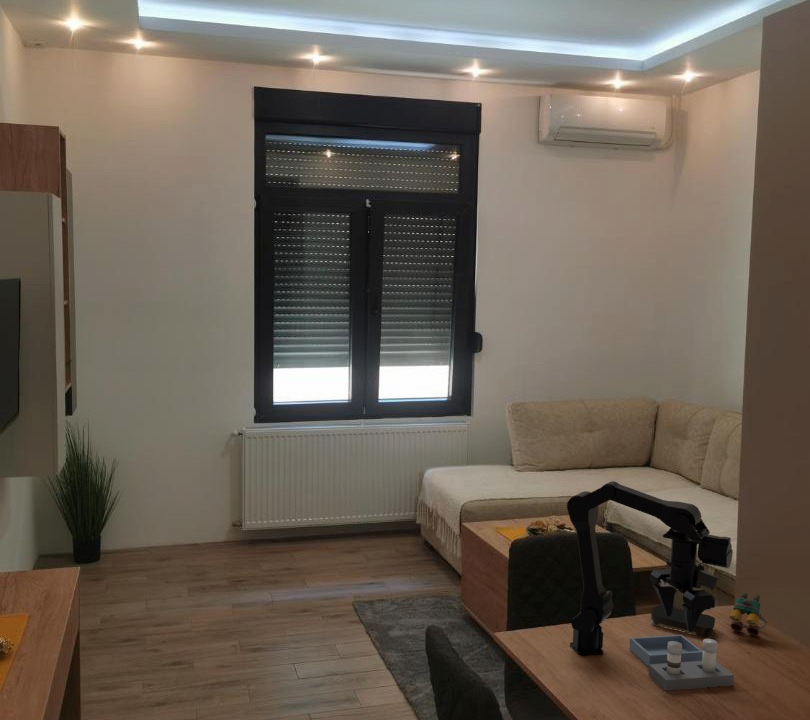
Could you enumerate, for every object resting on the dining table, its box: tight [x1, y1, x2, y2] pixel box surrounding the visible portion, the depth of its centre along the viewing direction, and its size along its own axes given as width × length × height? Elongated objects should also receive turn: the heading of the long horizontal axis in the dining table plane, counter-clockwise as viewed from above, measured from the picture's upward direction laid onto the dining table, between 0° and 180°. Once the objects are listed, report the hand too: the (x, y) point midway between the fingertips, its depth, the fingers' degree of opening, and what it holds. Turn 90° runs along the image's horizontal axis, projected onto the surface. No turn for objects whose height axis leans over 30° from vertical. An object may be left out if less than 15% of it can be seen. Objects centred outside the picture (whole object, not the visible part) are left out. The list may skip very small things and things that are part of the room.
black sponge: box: [650, 604, 716, 639], centre depth 229 cm, size 16×8×4 cm, turn 57°
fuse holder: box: [648, 660, 735, 692], centre depth 197 cm, size 17×8×2 cm, turn 102°
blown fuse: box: [666, 641, 682, 675], centre depth 196 cm, size 3×3×9 cm
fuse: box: [701, 638, 719, 673], centre depth 198 cm, size 3×3×9 cm
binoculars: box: [728, 591, 768, 637], centre depth 227 cm, size 9×9×10 cm
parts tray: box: [628, 634, 703, 668], centre depth 210 cm, size 14×10×3 cm
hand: (679, 623), depth 199 cm, fingers open, 9 cm apart
